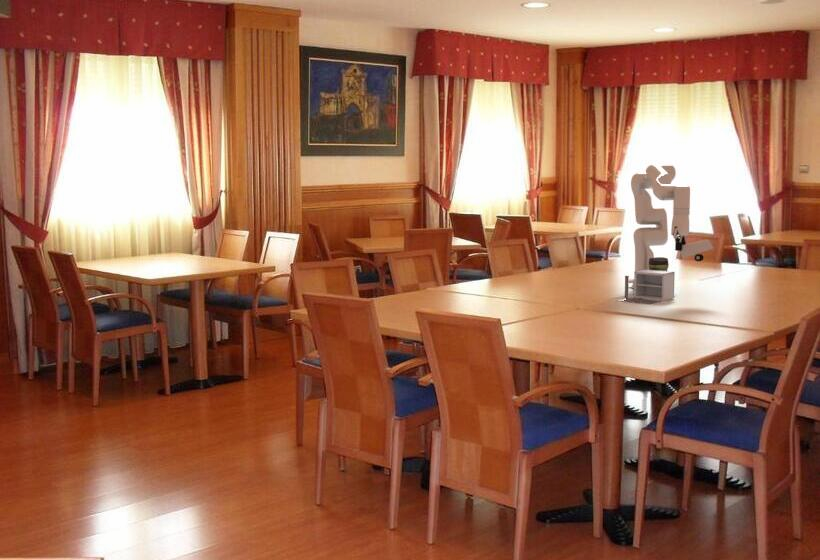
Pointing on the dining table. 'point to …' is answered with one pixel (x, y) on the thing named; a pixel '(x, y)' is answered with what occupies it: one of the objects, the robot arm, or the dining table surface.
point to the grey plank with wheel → (696, 249)
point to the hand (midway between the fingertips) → (680, 250)
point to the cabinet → (654, 285)
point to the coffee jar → (658, 264)
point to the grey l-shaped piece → (635, 300)
